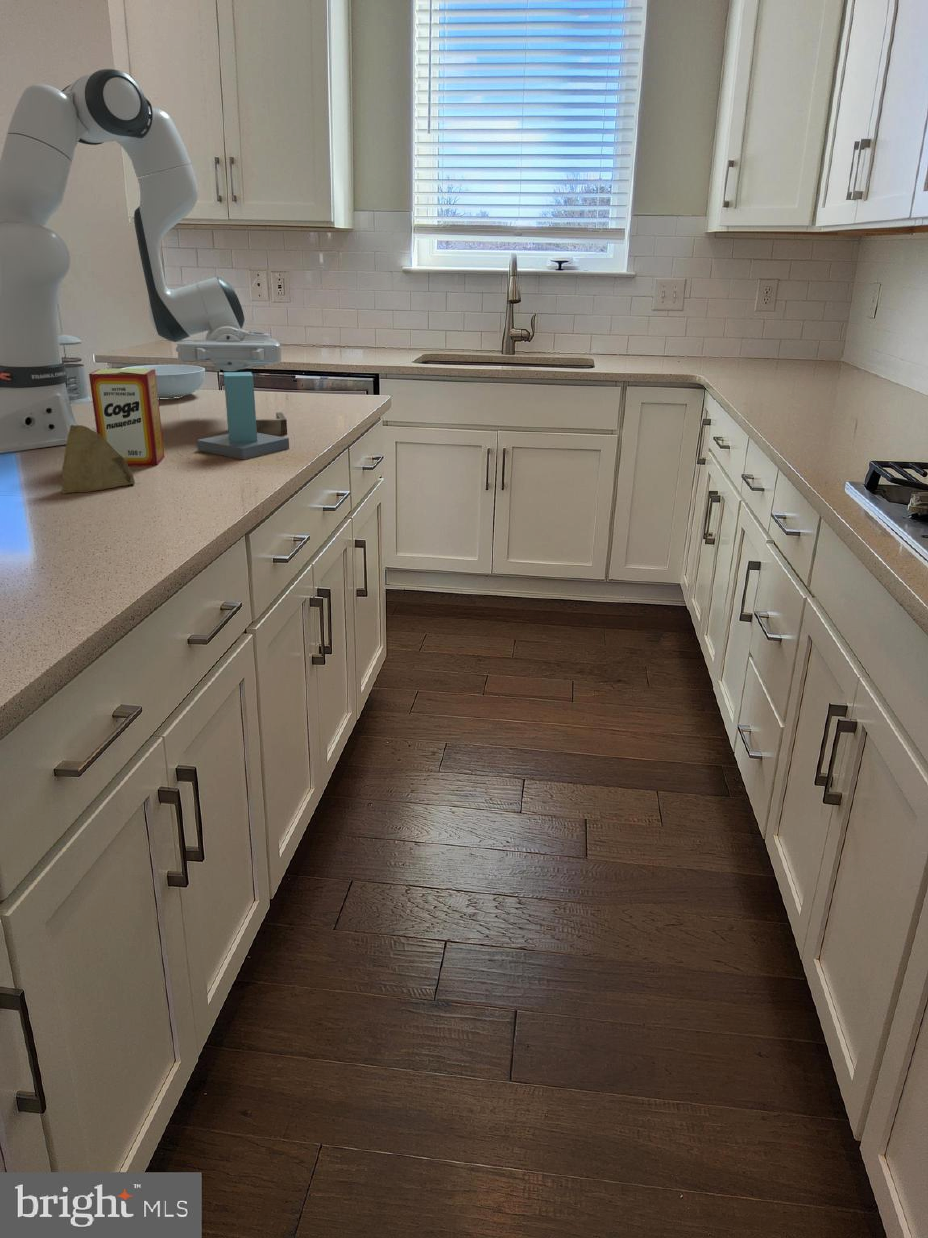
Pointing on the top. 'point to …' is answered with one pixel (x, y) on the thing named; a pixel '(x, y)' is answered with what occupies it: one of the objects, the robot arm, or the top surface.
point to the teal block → (240, 406)
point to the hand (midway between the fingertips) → (231, 355)
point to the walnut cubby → (272, 425)
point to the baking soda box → (129, 413)
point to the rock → (92, 463)
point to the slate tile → (243, 446)
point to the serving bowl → (176, 379)
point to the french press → (74, 371)
